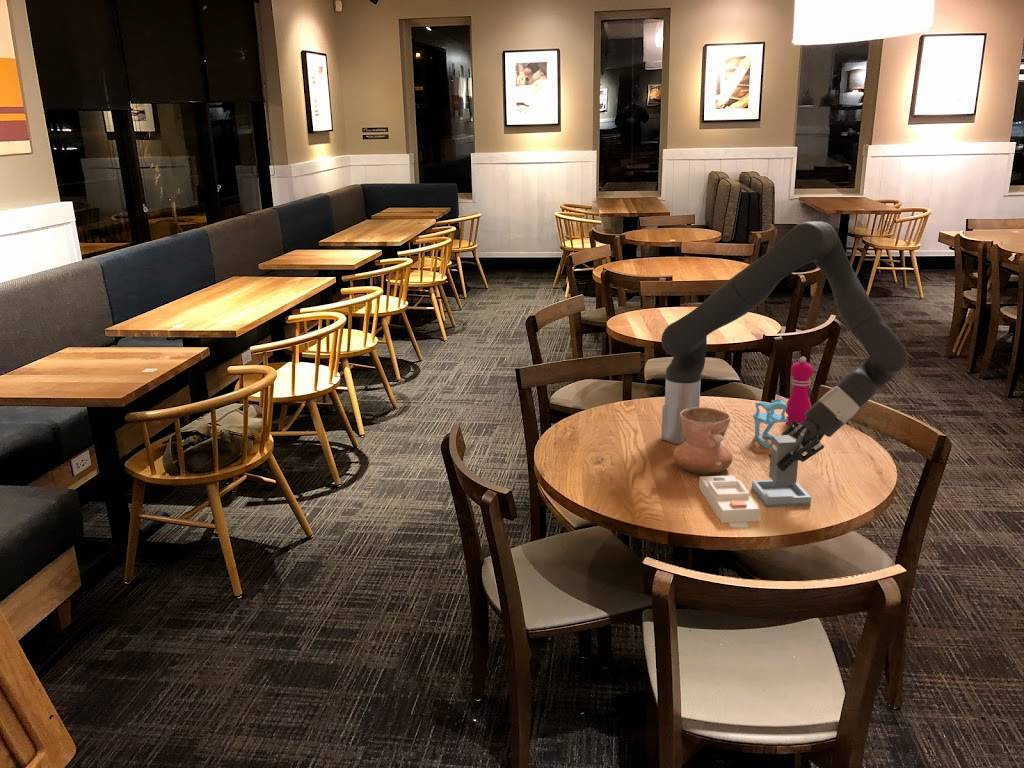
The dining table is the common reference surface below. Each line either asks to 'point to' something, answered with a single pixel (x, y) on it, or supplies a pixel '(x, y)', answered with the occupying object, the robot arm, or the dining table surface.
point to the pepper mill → (799, 391)
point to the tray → (780, 494)
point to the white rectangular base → (729, 499)
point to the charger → (779, 450)
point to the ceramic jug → (703, 441)
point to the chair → (768, 418)
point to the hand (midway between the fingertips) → (775, 463)
